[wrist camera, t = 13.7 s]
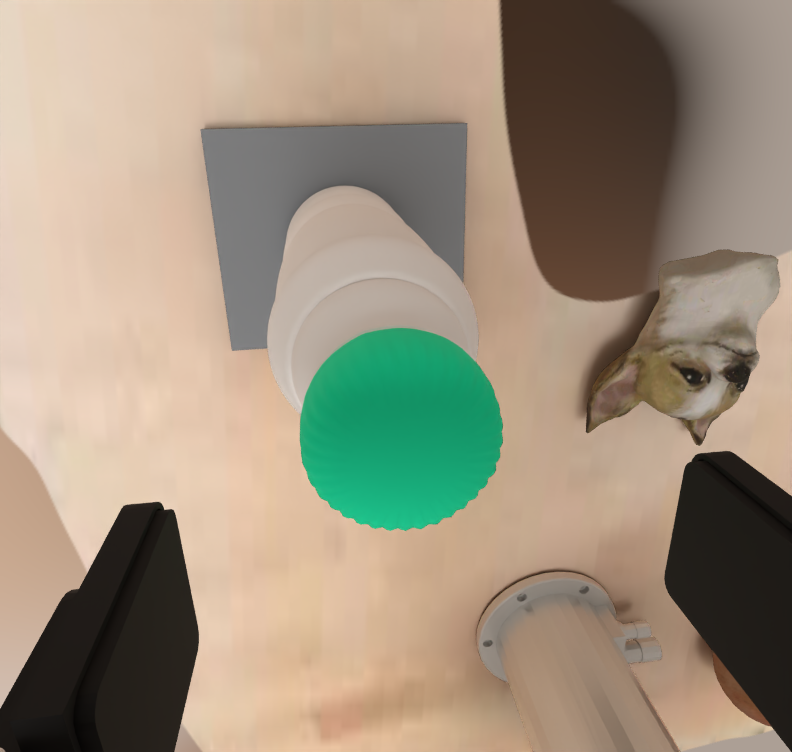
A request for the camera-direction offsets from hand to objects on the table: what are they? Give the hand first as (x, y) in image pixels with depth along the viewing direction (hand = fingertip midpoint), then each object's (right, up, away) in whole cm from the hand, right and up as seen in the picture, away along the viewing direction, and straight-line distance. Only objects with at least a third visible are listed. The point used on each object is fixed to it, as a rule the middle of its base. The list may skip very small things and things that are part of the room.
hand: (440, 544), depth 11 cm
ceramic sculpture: (+19, +6, +32) cm, 38 cm away
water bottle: (-4, +11, +25) cm, 28 cm away
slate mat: (-4, +12, +26) cm, 29 cm away
